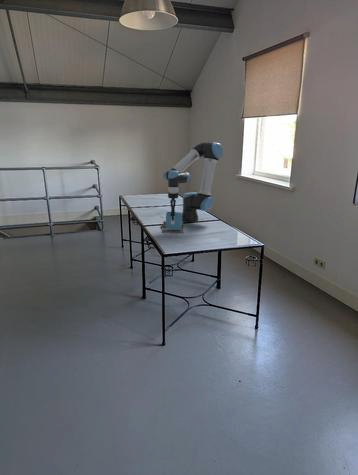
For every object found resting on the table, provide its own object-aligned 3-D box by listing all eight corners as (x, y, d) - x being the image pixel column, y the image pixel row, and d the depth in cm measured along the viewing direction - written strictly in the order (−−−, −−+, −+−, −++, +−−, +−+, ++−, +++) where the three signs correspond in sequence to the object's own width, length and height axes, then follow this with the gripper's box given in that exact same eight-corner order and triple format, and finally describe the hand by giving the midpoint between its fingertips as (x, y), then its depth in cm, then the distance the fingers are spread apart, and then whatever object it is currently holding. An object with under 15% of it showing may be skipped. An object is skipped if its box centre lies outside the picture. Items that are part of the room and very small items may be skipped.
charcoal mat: (162, 228, 254) (162, 227, 254) (183, 229, 254) (183, 228, 254) (161, 232, 243) (161, 232, 243) (183, 233, 244) (183, 232, 243)
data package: (181, 227, 250) (182, 212, 247) (181, 229, 246) (182, 213, 242) (165, 227, 250) (166, 211, 246) (165, 228, 246) (166, 213, 242)
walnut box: (162, 224, 264) (162, 221, 263) (182, 225, 265) (182, 221, 264) (162, 228, 256) (162, 224, 255) (183, 228, 256) (183, 224, 255)
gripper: (168, 190, 248) (167, 220, 255) (167, 194, 231) (167, 226, 238) (178, 190, 248) (177, 220, 255) (178, 194, 231) (177, 226, 239)
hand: (172, 223), depth 247 cm, fingers closed on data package, 4 cm apart
